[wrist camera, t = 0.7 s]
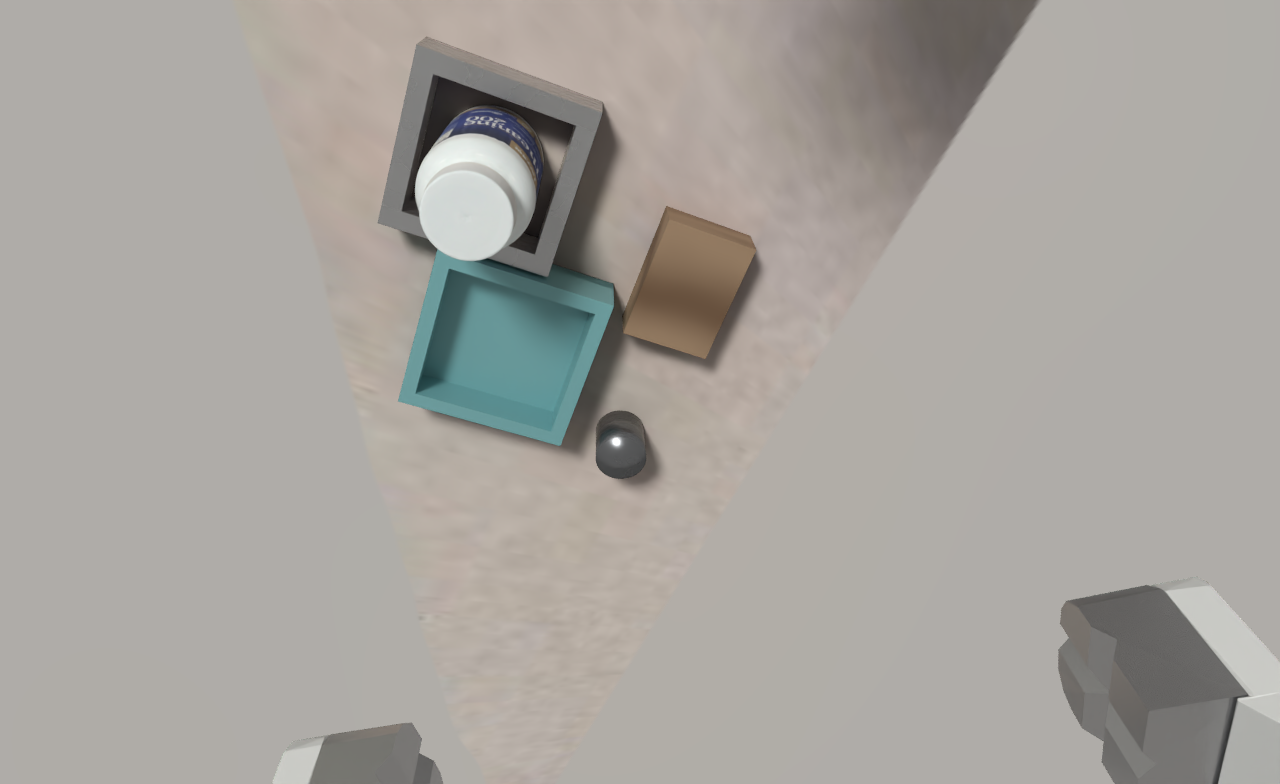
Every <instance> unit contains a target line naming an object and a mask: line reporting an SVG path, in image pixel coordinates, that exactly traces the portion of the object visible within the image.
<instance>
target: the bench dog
mask: <svg viewBox="0 0 1280 784" xmlns="http://www.w3.org/2000/svg"><path fill="white" fill-rule="evenodd" d="M645 462H646V451H645V439H644V428H643V424H642V422H641V420H640V419H639V418H638V417H637V416H636V415H634V414H632V413H630V412H627V411H614V412H611V413H608V414H606V415H605V416H603V417H602V418H601V419H600V421H599V422H598V424H597V427H596V463H597V466H598V468H599V469H600V470H601V471H602V472H603V473H604V474H605V475H607V476H609V477H612V478H617V479H624V478H629V477H632V476H634V475H636V474H637V473H639V472H640V471H641V470H642V468H643V467H644V465H645Z"/></svg>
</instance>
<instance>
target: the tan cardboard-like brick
mask: <svg viewBox="0 0 1280 784" xmlns="http://www.w3.org/2000/svg"><path fill="white" fill-rule="evenodd" d="M755 252H756V248H755V246H754V244H753V241H752V239H751V237H750V236H749V235H746V234H743V233H741V232H738V231H735V230H732V229H729V228H727V227H724V226H721V225H718V224H715V223H712V222H710V221H707V220H704V219H701V218H698V217H696V216H693V215H690V214H687V213H684V212H682V211H679V210H676V209H673V208H670V207H668V206H666V208H665V211H664V213H663V216H662V218H661V221H660V223H659V226H658V228H657V231H656V233H655V236H654V238H653V241H652V243H651V246H650V248H649V251H648V253H647V256H646V258H645V261H644V263H643V266H642V268H641V271H640V273H639V276H638V279H637V281H636V284H635V286H634V289H633V291H632V294H631V296H630V299H629V301H628V304H627V306H626V309H625V311H624V314H623V316H622V319H623V333H625V334H628V335H631V336H634V337H637V338H640V339H643V340H647V341H650V342H653V343H656V344H659V345H662V346H666V347H669V348H672V349H675V350H678V351H681V352H685V353H688V354H691V355H694V356H697V357H700V358H704V359H706V357H707V355H708V352H709V350H710V348H711V346H712V344H713V342H714V340H715V337H716V335H717V333H718V331H719V329H720V327H721V325H722V322H723V320H724V318H725V316H726V314H727V312H728V310H729V307H730V305H731V303H732V301H733V299H734V297H735V295H736V293H737V290H738V288H739V286H740V284H741V282H742V280H743V278H744V275H745V273H746V271H747V269H748V267H749V265H750V263H751V260H752V258H753V256H754V254H755Z"/></svg>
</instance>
